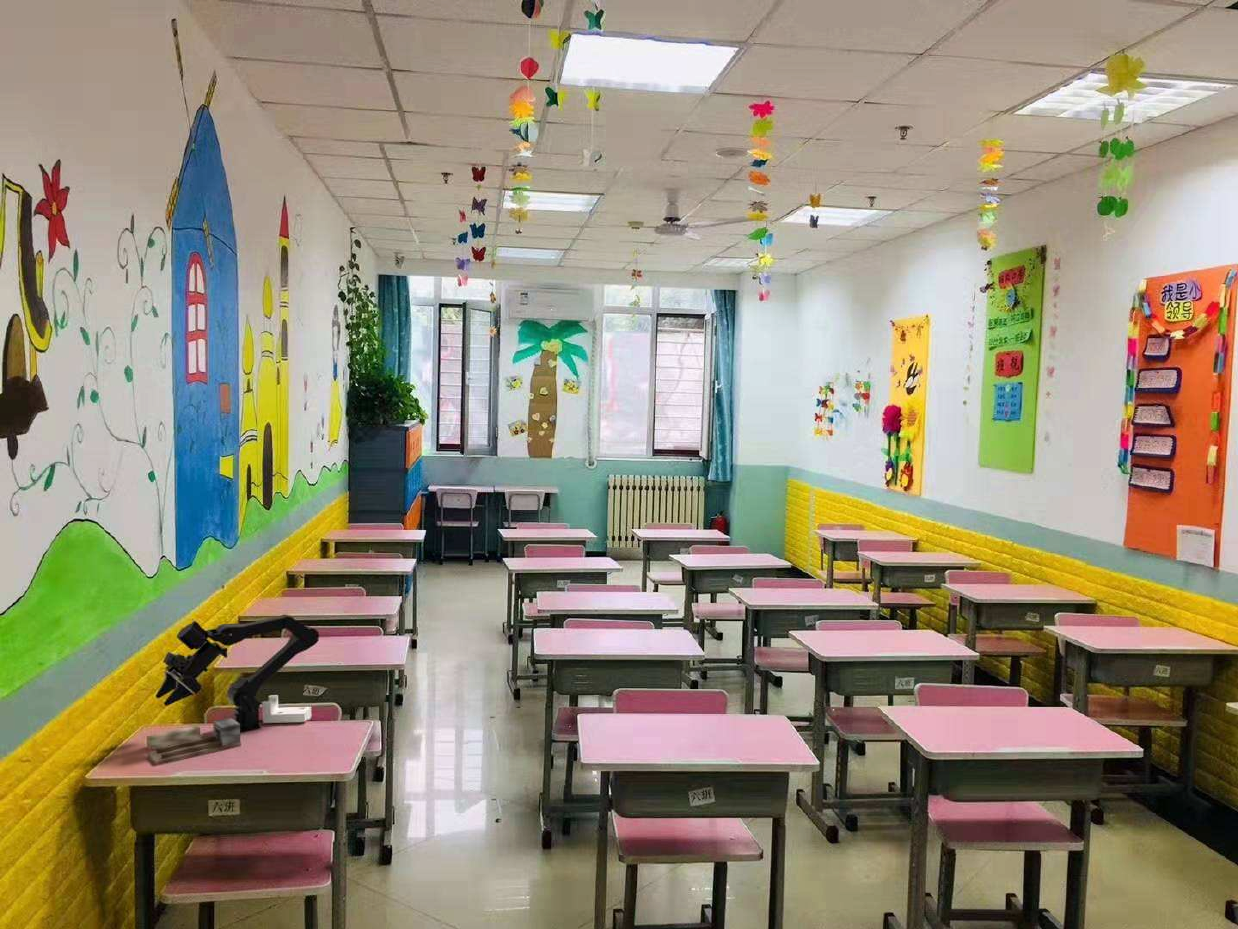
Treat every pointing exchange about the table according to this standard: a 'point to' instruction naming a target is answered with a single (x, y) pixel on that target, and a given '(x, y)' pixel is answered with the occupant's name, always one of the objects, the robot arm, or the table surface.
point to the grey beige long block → (173, 737)
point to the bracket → (283, 712)
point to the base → (201, 743)
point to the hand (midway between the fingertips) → (160, 701)
